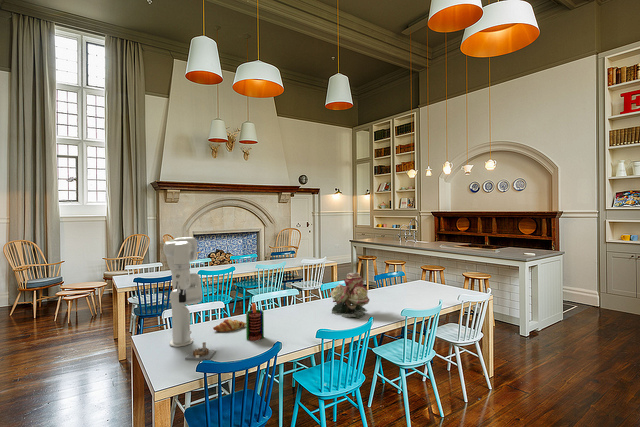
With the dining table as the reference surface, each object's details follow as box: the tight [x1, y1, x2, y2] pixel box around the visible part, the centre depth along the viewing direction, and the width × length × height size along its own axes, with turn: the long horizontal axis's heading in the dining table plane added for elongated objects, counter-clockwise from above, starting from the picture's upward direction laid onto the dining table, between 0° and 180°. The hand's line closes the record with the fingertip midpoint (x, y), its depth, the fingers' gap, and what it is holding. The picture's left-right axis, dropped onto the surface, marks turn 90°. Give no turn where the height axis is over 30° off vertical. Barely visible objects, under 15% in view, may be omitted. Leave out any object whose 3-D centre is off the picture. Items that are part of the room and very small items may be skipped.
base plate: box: [185, 349, 217, 361], centre depth 184 cm, size 10×12×2 cm
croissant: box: [212, 318, 246, 333], centre depth 225 cm, size 21×10×8 cm, turn 119°
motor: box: [245, 303, 265, 342], centre depth 209 cm, size 10×9×20 cm
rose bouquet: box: [329, 271, 370, 320], centre depth 255 cm, size 26×29×30 cm
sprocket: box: [192, 342, 210, 357], centre depth 184 cm, size 8×8×6 cm
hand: (182, 302), depth 182 cm, fingers closed
